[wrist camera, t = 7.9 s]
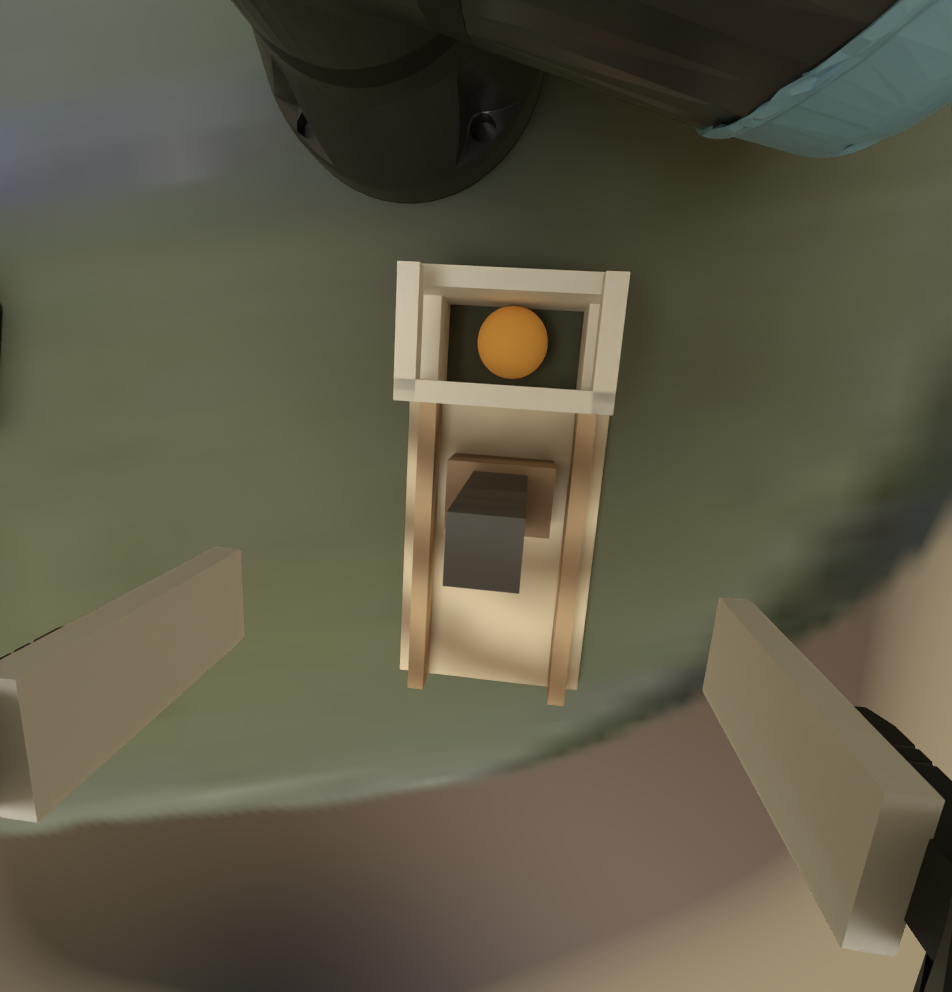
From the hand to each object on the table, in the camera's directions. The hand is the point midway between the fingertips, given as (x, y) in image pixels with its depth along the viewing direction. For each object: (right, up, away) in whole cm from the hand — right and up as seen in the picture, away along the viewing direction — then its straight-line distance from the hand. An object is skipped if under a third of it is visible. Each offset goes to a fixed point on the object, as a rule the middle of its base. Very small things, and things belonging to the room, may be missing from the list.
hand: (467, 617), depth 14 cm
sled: (+2, +4, +18) cm, 18 cm away
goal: (+3, +12, +17) cm, 21 cm away
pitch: (+2, 0, +20) cm, 20 cm away
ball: (+2, +12, +15) cm, 20 cm away
